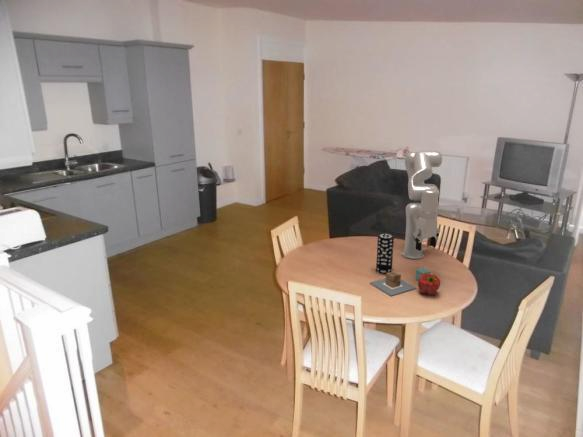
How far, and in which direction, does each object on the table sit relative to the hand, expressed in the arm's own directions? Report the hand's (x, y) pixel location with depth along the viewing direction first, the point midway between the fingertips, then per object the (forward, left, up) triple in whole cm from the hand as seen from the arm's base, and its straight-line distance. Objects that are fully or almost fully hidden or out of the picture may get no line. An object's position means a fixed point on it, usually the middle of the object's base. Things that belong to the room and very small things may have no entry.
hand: (425, 248), depth 210 cm
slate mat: (+17, -3, -18) cm, 25 cm away
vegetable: (+7, +11, -18) cm, 22 cm away
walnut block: (+17, -3, -17) cm, 24 cm away
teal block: (0, 0, -18) cm, 18 cm away
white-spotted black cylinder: (+9, -19, -18) cm, 28 cm away
